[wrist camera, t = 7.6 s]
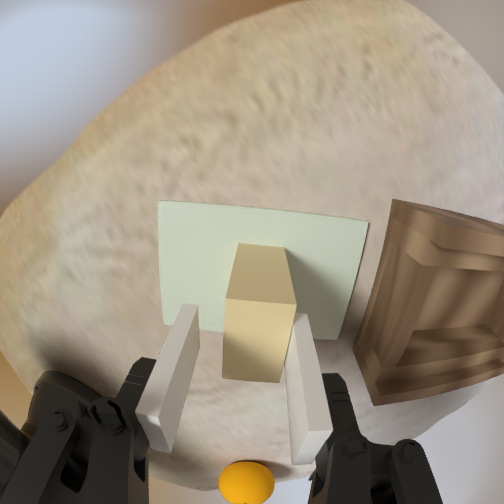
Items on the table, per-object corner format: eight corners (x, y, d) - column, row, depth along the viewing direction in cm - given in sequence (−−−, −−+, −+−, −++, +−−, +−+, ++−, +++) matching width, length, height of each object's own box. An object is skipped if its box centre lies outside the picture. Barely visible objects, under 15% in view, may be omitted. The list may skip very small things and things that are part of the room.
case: (352, 349, 21) (373, 406, 15) (392, 198, 17) (447, 224, 11) (477, 338, 21) (505, 372, 15) (516, 229, 17) (559, 252, 10)
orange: (219, 471, 32) (215, 508, 25) (221, 453, 29) (215, 497, 22) (269, 474, 32) (269, 512, 25) (278, 457, 29) (280, 501, 22)
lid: (166, 318, 21) (133, 387, 14) (162, 198, 18) (102, 232, 10) (335, 333, 21) (359, 405, 14) (364, 218, 18) (421, 263, 10)
